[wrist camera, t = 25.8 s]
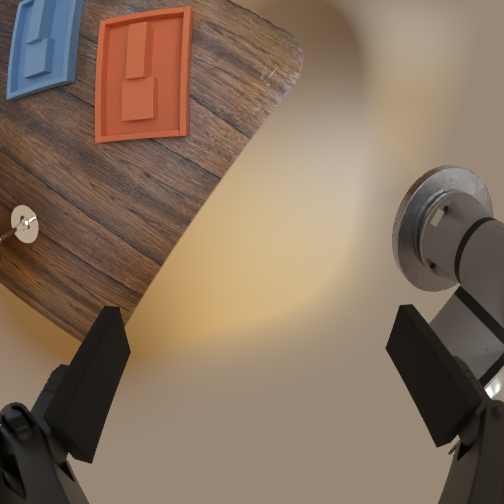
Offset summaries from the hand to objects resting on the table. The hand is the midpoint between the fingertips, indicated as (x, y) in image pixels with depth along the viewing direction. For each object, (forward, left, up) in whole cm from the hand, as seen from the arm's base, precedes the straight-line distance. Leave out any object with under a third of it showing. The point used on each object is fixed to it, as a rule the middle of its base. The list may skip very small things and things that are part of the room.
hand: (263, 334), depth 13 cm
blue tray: (+29, -25, -27) cm, 47 cm away
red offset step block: (+13, -16, -26) cm, 33 cm away
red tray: (+13, -16, -27) cm, 34 cm away
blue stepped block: (+29, -25, -26) cm, 46 cm away
